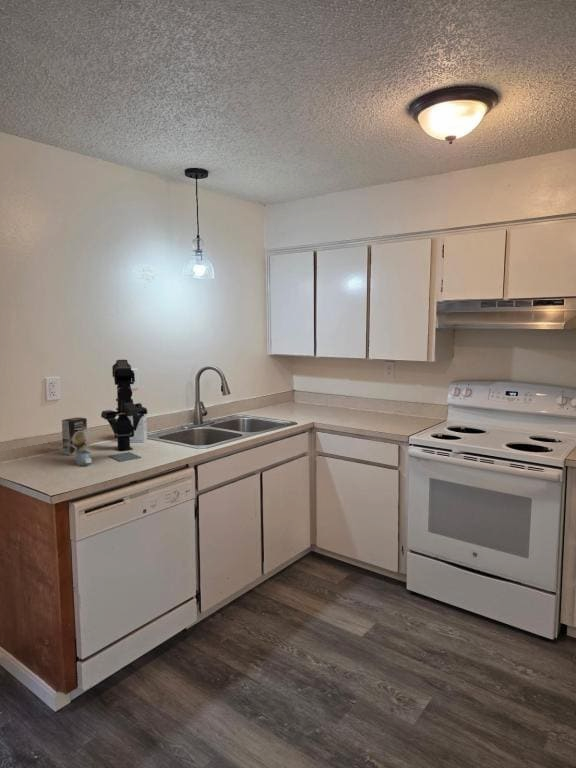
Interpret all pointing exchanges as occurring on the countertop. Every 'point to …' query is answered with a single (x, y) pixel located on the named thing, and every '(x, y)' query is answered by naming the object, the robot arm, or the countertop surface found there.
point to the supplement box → (139, 430)
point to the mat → (124, 456)
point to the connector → (83, 457)
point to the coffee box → (74, 435)
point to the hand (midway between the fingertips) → (125, 432)
